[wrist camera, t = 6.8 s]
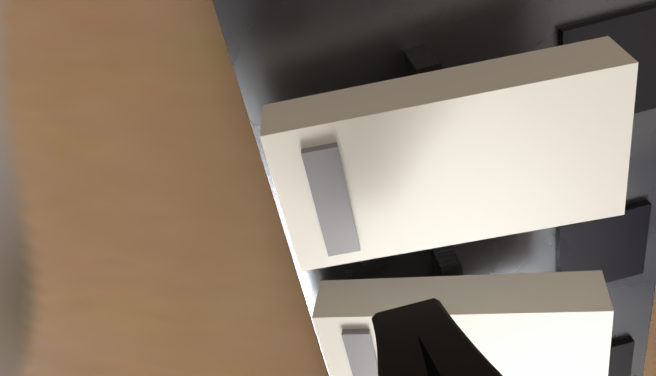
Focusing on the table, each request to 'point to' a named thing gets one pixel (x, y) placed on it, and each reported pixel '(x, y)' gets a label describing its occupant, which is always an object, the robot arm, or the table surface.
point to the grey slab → (450, 51)
